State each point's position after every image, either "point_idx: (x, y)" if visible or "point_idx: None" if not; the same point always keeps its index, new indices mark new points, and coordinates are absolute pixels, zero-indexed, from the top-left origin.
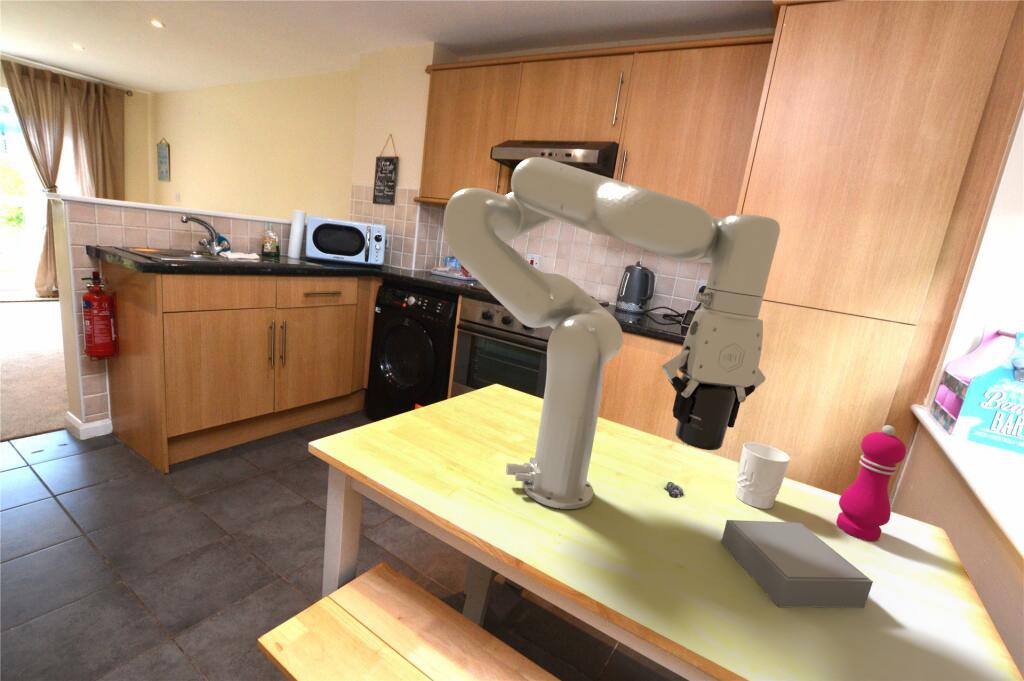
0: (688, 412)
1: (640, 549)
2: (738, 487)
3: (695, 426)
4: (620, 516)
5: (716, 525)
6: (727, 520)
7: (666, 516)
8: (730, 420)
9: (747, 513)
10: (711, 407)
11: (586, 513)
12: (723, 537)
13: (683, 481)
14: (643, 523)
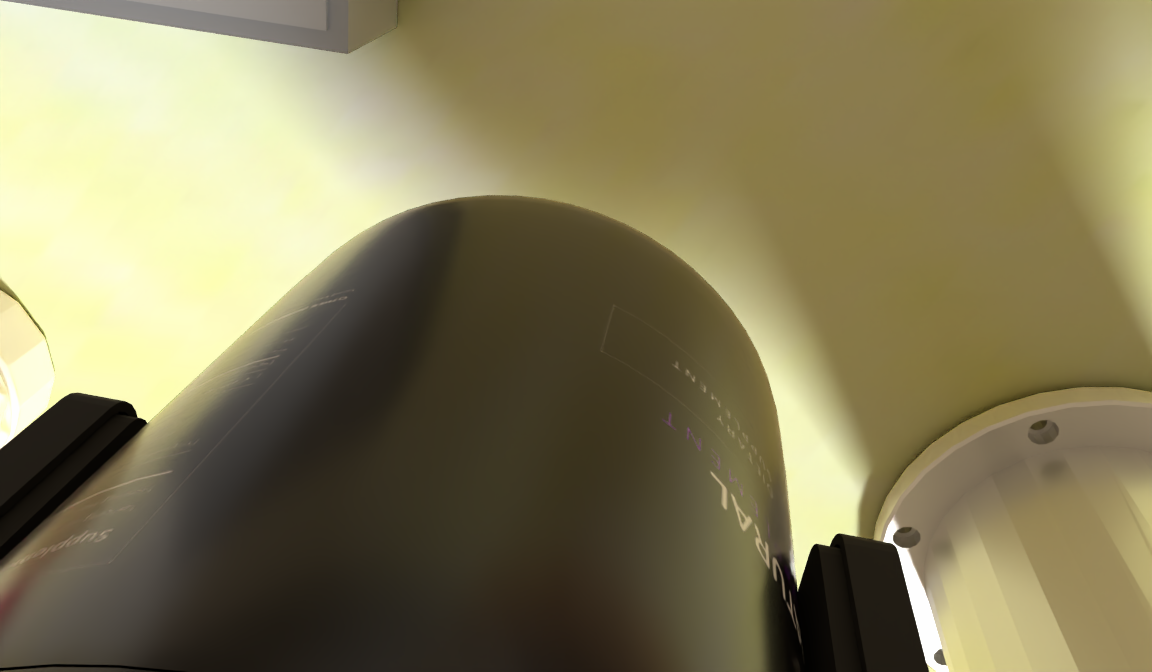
0: (876, 667)
1: (934, 26)
2: (22, 405)
3: (743, 443)
4: (848, 305)
5: (325, 171)
6: (347, 47)
7: None
8: (85, 465)
9: (75, 245)
10: (593, 601)
11: (1033, 350)
12: (385, 24)
13: None
14: (753, 235)
